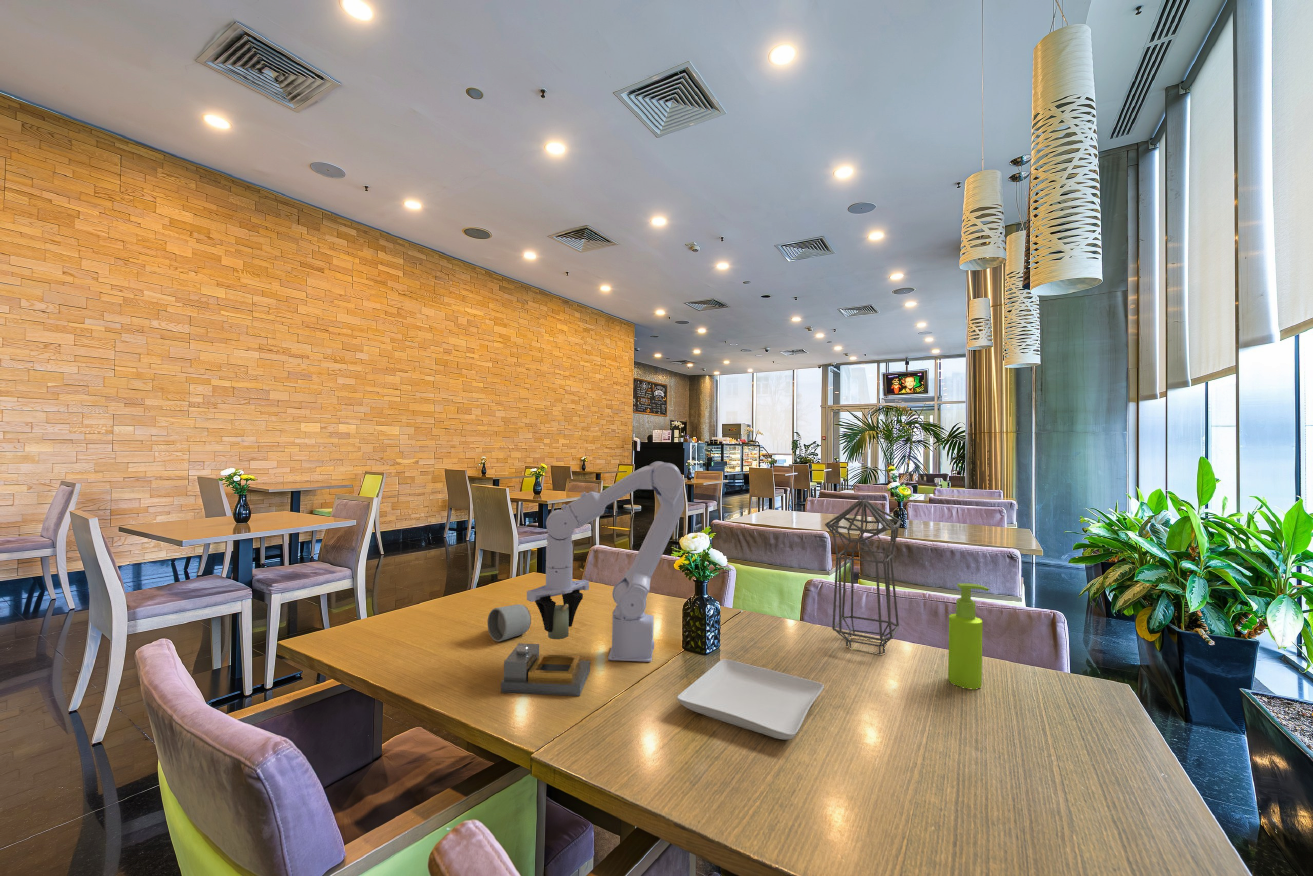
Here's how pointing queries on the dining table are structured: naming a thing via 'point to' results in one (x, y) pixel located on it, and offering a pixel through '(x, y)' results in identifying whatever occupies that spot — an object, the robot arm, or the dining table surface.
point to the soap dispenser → (965, 641)
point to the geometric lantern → (894, 529)
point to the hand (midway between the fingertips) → (558, 628)
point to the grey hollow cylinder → (508, 622)
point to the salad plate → (752, 698)
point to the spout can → (560, 622)
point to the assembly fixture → (543, 672)
